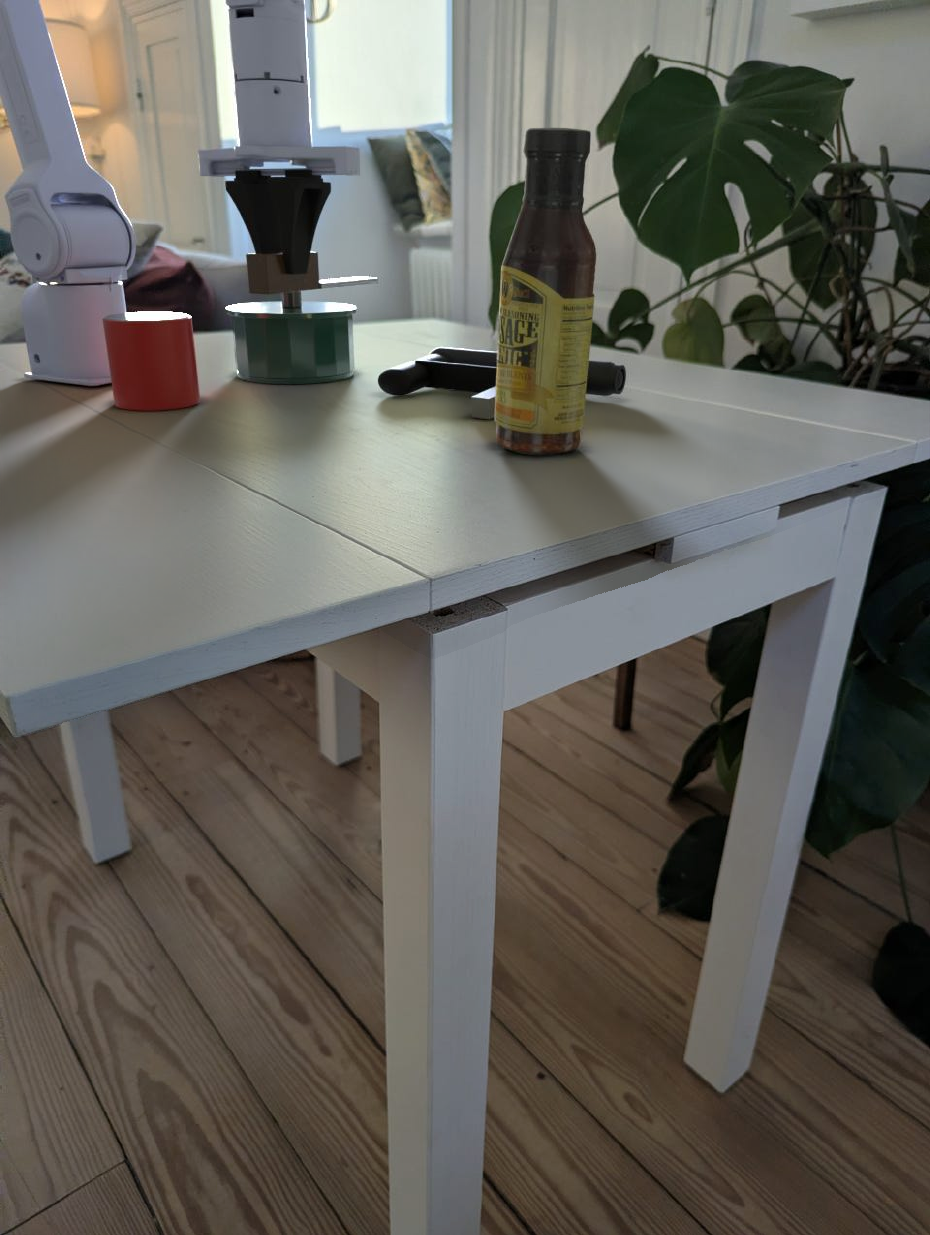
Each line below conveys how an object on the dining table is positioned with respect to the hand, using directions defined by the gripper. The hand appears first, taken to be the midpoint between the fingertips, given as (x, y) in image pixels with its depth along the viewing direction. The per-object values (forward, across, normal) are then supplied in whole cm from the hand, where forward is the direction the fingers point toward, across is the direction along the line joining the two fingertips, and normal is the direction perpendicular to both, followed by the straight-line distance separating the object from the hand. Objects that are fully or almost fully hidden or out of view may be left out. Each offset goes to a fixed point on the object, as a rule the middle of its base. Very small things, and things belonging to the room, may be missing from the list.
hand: (284, 273), depth 75 cm
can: (+10, -9, -7) cm, 15 cm away
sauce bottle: (+11, +26, -6) cm, 29 cm away
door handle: (+11, +15, +9) cm, 20 cm away
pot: (+10, -8, +11) cm, 17 cm away
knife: (+1, 0, +4) cm, 5 cm away
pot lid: (+4, -8, +11) cm, 14 cm away
